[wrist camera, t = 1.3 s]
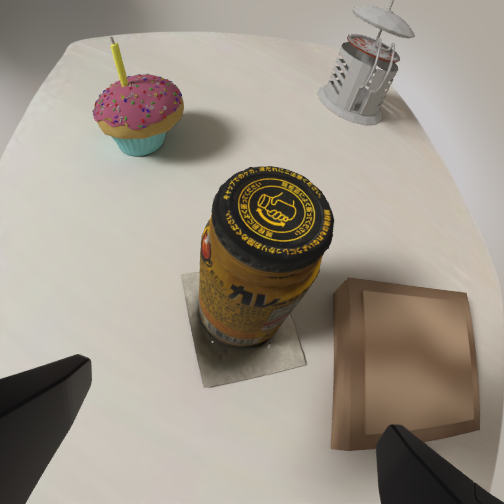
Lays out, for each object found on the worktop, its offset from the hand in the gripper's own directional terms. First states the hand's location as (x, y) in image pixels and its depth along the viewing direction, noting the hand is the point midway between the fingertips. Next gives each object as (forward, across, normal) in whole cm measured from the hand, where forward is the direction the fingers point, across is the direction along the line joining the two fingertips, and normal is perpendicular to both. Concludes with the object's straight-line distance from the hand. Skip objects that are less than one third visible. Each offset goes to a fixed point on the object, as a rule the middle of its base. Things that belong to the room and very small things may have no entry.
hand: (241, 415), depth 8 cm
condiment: (+14, 0, +4) cm, 15 cm away
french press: (+37, -8, -18) cm, 42 cm away
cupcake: (+25, +14, -7) cm, 30 cm away
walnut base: (+13, -13, +5) cm, 19 cm away
